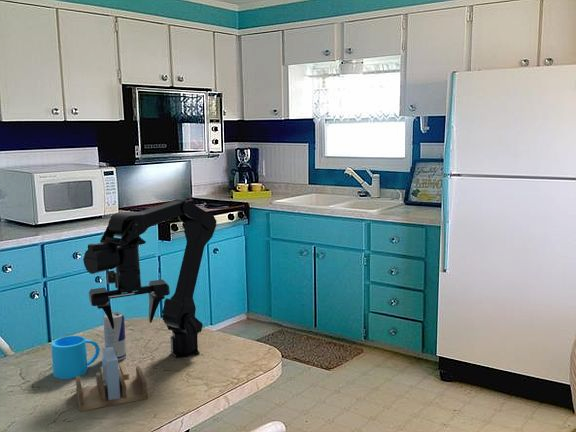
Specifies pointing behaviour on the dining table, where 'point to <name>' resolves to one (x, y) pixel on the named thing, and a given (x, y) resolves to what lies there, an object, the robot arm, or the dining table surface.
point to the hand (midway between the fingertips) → (132, 325)
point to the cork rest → (122, 369)
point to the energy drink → (115, 334)
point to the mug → (71, 356)
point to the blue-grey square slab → (110, 373)
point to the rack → (98, 397)
